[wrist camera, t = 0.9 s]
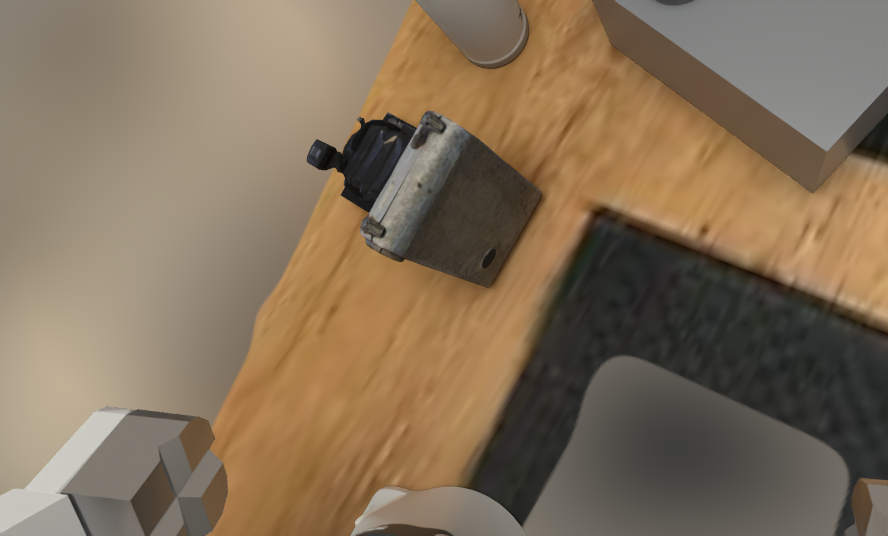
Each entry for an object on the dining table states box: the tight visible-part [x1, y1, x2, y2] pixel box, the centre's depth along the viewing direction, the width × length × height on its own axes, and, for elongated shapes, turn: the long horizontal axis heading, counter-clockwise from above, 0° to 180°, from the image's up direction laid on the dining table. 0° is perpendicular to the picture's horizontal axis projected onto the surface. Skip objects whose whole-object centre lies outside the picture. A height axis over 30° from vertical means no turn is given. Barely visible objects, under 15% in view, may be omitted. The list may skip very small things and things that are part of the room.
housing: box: [592, 0, 888, 193], centre depth 56 cm, size 12×20×14 cm, turn 47°
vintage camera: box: [307, 111, 542, 288], centre depth 61 cm, size 10×16×20 cm, turn 58°
